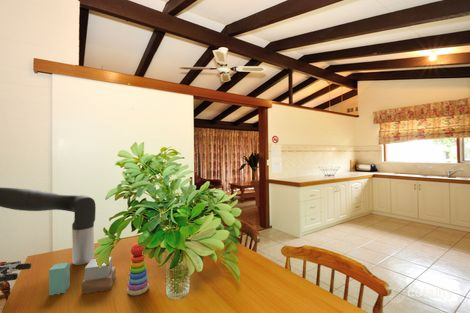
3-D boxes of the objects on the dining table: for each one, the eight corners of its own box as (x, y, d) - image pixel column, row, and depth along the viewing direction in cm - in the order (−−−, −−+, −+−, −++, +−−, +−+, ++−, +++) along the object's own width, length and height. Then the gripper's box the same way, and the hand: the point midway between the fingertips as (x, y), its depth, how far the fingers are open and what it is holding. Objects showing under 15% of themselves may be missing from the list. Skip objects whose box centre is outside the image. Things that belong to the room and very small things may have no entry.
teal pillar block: (55, 288, 92) (55, 264, 92) (69, 286, 94) (69, 262, 94) (49, 295, 88) (49, 269, 88) (64, 293, 89) (64, 268, 89)
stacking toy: (153, 288, 92) (152, 242, 92) (135, 299, 85) (135, 249, 85) (140, 282, 96) (140, 238, 96) (122, 292, 89) (122, 245, 89)
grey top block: (91, 271, 97) (90, 259, 97) (112, 268, 99) (111, 256, 99) (84, 280, 89) (84, 268, 89) (107, 277, 92) (107, 265, 92)
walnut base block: (89, 281, 98) (89, 269, 98) (115, 277, 101) (115, 266, 101) (81, 295, 88) (81, 282, 88) (110, 290, 91) (110, 278, 91)
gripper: (-48, 276, 76) (12, 269, 80) (-16, 258, 89) (34, 253, 94) (-49, 298, 76) (12, 290, 80) (-16, 277, 89) (34, 271, 94)
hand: (24, 270), depth 87 cm, fingers open, 8 cm apart
